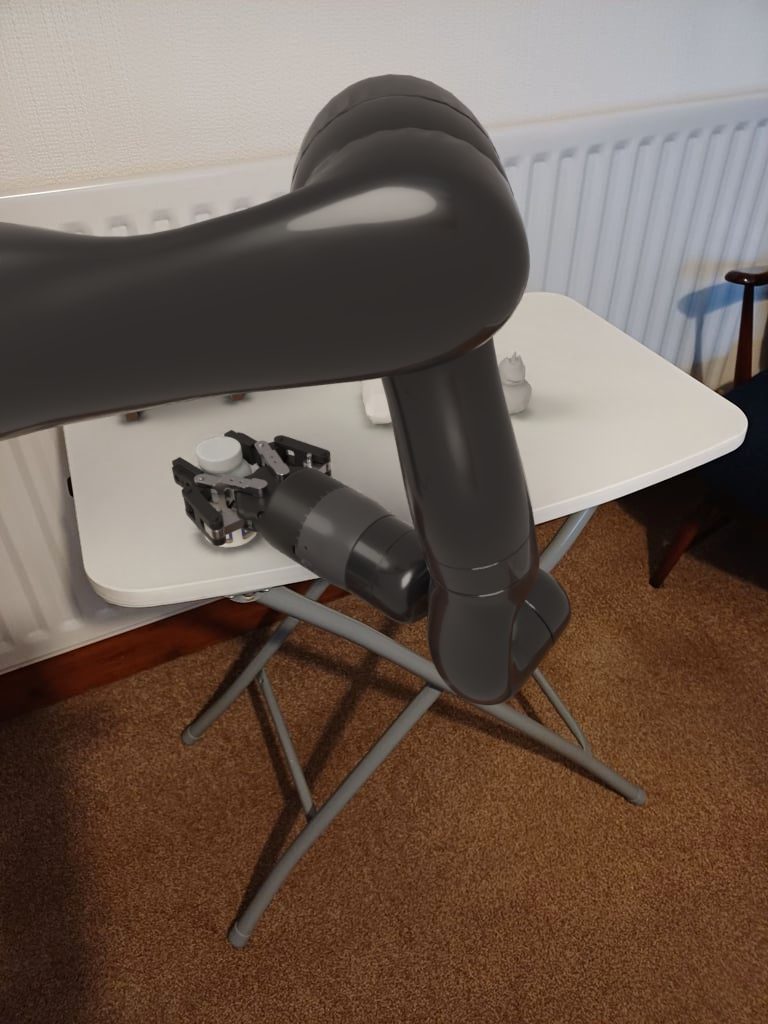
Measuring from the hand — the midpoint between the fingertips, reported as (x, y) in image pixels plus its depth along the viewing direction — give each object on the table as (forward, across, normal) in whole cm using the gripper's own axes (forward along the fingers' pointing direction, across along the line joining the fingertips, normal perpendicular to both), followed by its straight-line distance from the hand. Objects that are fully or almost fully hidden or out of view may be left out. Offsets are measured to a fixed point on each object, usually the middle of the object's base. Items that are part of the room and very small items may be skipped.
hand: (203, 453), depth 72 cm
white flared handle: (+3, -28, +8) cm, 29 cm away
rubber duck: (-9, -37, +8) cm, 39 cm away
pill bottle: (-3, 0, +8) cm, 9 cm away
